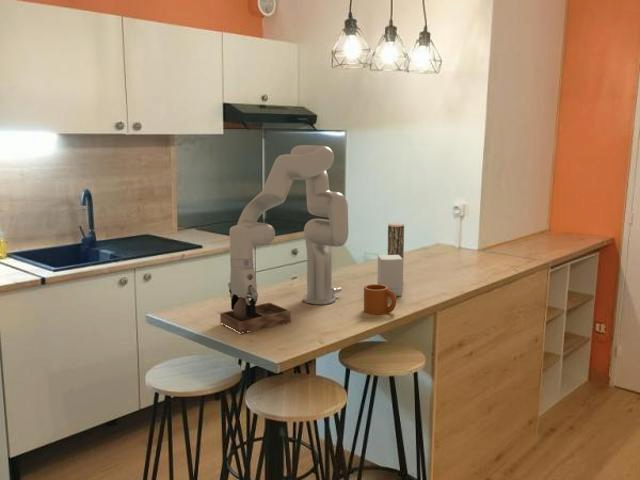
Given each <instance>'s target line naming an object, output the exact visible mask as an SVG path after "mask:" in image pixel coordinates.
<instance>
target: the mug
mask: <svg viewBox="0 0 640 480" xmlns="http://www.w3.org/2000/svg"><path fill="white" fill-rule="evenodd" d="M396 297H397V296H395V295H394V293H393V292H392V291H391V290H388V286H386V285H381V284H378V283H375V284H373V283H372V284H368V285H367V284H366V285H364V287H363V311H364V313H366V314H369V315H383V314H387V313H388V314H389V313H392V312H393V311H394V309H395V308H396V306H397V298H396ZM389 298H390V301H391V303H390V305H389Z"/></svg>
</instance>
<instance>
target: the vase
mask: <svg viewBox="0 0 640 480" xmlns="http://www.w3.org/2000/svg"><path fill="white" fill-rule="evenodd" d="M246 305H248V304H247V302H246V300H245V298H242V297H239V300H238V301H237V302H236V304H235V306H234V310H233V314H234V318H235V319H237V320H239V321H245V320H249V319H253V316H250V317H247V315H246Z"/></svg>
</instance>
